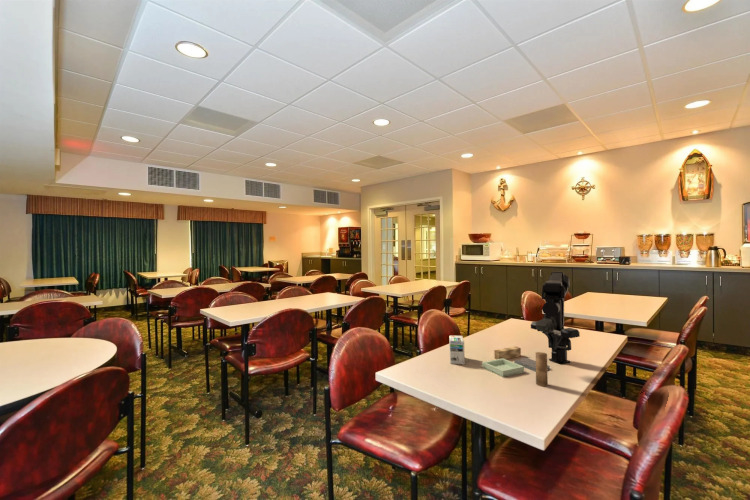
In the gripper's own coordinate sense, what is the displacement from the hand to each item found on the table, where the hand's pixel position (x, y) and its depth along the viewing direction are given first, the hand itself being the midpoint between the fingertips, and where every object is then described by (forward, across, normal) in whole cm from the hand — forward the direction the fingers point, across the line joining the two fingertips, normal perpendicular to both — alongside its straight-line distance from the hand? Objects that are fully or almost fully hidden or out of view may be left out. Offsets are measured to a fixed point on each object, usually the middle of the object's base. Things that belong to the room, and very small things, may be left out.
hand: (554, 349), depth 136 cm
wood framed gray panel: (+11, -11, 0) cm, 16 cm away
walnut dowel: (+10, +5, -13) cm, 17 cm away
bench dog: (+11, -25, 0) cm, 27 cm away
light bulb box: (+11, -32, -25) cm, 42 cm away
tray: (+11, -13, -15) cm, 23 cm away
